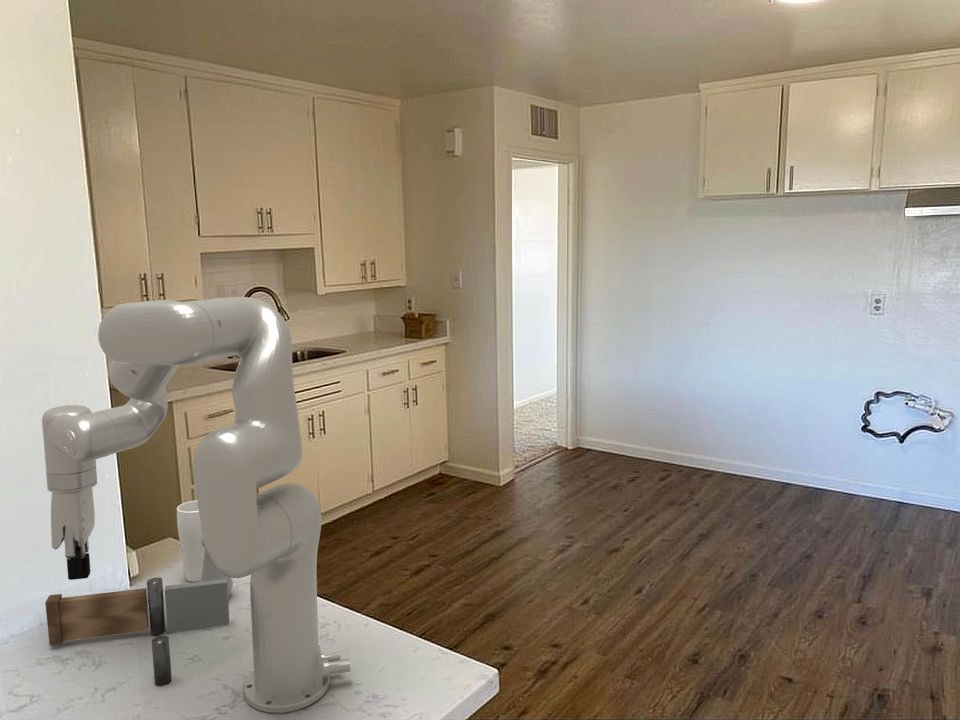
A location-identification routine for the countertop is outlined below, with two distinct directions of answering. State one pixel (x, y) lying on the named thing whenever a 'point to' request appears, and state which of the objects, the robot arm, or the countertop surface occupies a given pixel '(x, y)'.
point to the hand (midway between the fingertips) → (79, 576)
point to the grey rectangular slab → (197, 605)
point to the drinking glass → (190, 540)
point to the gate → (96, 615)
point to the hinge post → (156, 606)
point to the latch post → (161, 660)
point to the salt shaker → (212, 571)
